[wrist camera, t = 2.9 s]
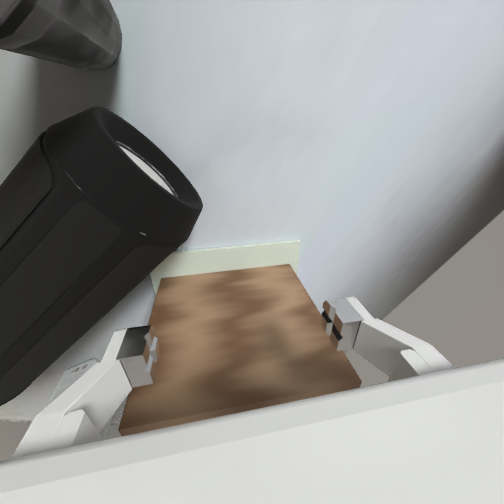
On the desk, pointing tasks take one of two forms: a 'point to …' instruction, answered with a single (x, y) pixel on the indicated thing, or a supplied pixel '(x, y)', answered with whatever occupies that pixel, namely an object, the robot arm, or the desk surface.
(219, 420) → the robot arm
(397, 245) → the desk surface
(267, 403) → the stool
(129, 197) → the portable speaker
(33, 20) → the beverage cup
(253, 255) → the mat
